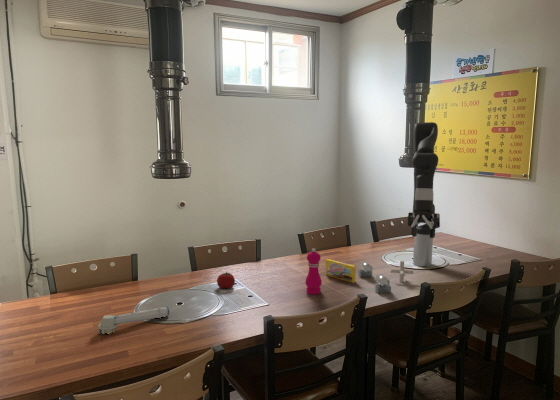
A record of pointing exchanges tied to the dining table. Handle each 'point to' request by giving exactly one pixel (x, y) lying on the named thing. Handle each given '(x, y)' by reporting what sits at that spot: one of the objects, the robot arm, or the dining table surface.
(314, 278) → the pepper mill
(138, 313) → the toothbrush head
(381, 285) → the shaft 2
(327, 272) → the candy box
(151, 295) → the dining table surface
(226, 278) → the tomato
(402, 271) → the pipe connector
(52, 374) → the dining table surface
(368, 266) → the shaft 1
